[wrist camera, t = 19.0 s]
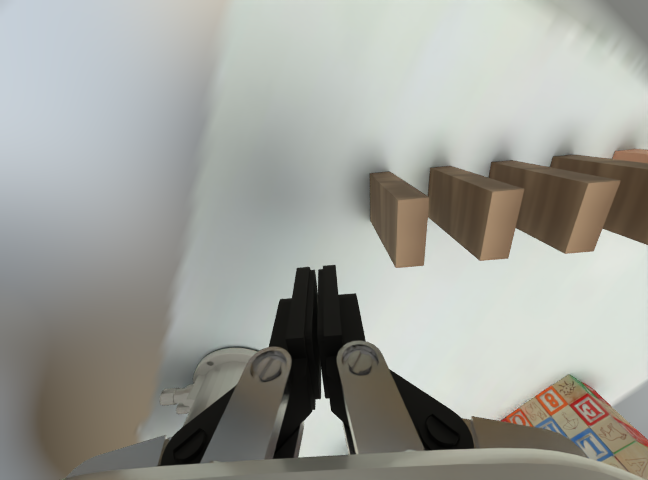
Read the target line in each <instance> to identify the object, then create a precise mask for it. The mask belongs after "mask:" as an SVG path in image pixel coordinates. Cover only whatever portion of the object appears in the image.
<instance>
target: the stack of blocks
mask: <svg viewBox="0 0 648 480" xmlns="http://www.w3.org/2000/svg"><path fill="white" fill-rule="evenodd" d="M501 421H502V422H508V423H514V424H520V425H525V426H531V427H537V428H543V429H548V430H551V431H554V432H557V433H560V434H561V435H563V436H565V437H566V438H568V439H570V440H572V441H573V442H574V443H575V444H576V445H577V446H578V447H579V448H581V449H582V450H583V451H584V453H585V454H586V455H587V457H588V458H589V459H593V460H596V461H600V462H603V463H605V464H608V465H611V466H614V467H616V468H619V469H622V470H625V471H627V472H629V473H632V474H634V475H637V476H639V477H641V478H643V479H645V480H648V440H647V439H646V438H645V437H644V436H643V435H642V434H641V433H640V432H639V431H637V430H636V429H635V428H634V427H633V426H632V425H631V424H630V423H628V422H627V421H626V420H625V419H624V418H623V417H622V416H621V415H620V414H619V413H618V412H617V411H616V410H614V409H613V408H612V407H611V406H610V405H609V404H608V403H607V402H606V401H605V400H604V399H603V398H602V397H601V396H600V395H599V394H598V393H597V392H596V391H595V390H594V389H592V388H591V387H589V386H588V385H586V384H584V383H583V382H581V381H579V380H577V379H576V378H574V377H573V376H571V375H567V376H565V377H564V378H563V379H561V380H560V381H558V382H557V383H555V384H554V385H552V386H550V387H549V388H547V389H546V390H544V391H543V392H541V393H540V394H538V395H537V396H535V397H534V398H532V399H531V400H529V401H528V402H526V403H525V404H523V405H522V406H521V407H520V408H519V409H517V410H516V411H514V412H513V413H511V414H510V415H508V416H507V417H506V418H504V419H503V420H501Z"/></svg>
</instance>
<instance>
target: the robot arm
mask: <svg viewBox="0 0 648 480" xmlns="http://www.w3.org/2000/svg"><path fill="white" fill-rule="evenodd" d="M321 370H322V377H323V385H324V392H325V398H330V406H331V411H332V412H333V413H334V414H335V415H336V416H337V417H338V418H339V419H340V420H342V422H343V429H344V434H345V439H346V443H347V448H348V453H349V455H337V456H320V457H302V458H298V456H299V450H300V445H301V440H302V435H303V430H304V420H305V419H306V418H307V417H308V416H309V415H310V414H311V412H312V410H315V399H321ZM178 403H179V404H178ZM160 404H161V405H162V406H163V405H175V404H178V405H177V408H176V413H177V414H187V413H189V414H188V416H187V418H186V421H185V423H184V425H183V427H182V428H181V429H180V430H179V431H178V432H177V433H176V434H175V435H174V436H173V437H171V438H167V436H166V435H164V436H161V437H157V438H154V439H151V440H147V441H144V442H141V443H138V444H134V445H131V446H128V447H125V448H121V449H118V450H115V451H111V452H108V453H104V454H101V455H98V456H95V457H93V458H91V459H89V460H87V461H85V462H83V463H82V464H80V465H79V466H78V467H76V468H75V469H74V470H73V471H72V472H71V473H70V474H69V475H68V476H67V477H66V478H65V479H61V480H645V479H643V478H641V477H639V476H637V475H634V474H632V473H629V472H627V471H625V470H622V469H619V468H616V467H614V466H611V465H608V464H605V463H603V462H600V461H596V460H593V459H589V458H588V457H587V455H586V454H585V453H584V451H583V450H582V449H581V448H579V447H578V446H577V445H576V444H575V443H574V442H573V441H572V440H570V439H568V438H566V437H565V436H563V435H561V434H560V433H557V432H554V431H551V430H548V429H543V428H537V427H531V426H525V425H520V424H514V423H508V422H502V421H497V420H491V419H485V418H479V417H474V416H472V417H471V420H469V419H463V418H461V417H460V416H458V415H457V414H456V413H455V412H453V411H452V410H451V409H449V408H448V407H446V406H445V405H443V404H442V403H440V402H438V401H437V400H435V399H434V398H432V397H431V396H429V395H428V394H426V393H425V392H423V391H422V390H420V389H419V388H417V387H416V386H414V385H413V384H411V383H410V382H408V381H407V380H405V379H403V378H402V377H400V376H399V375H397V374H396V373H394V372H393V371H391V370H390V369H389V368H388V366H387V364H386V361H385V359H384V357H383V355H382V353H381V352H380V350H379V349H378V348H377V347H376V346H375V345H373V344H371V343H369V342H366V341H365V336H364V331H363V326H362V321H361V316H360V311H359V305H358V300H357V296H356V293H355V294H342V295H338V287H337V276H336V266H335V265H328V266H323V269H319V270H318V292H317V283H316V275H315V270H310V267H303V268H297V271H296V277H295V283H294V289H293V295H292V298H290V299H281V300H280V301H279V305H278V309H277V314H276V318H275V322H274V327H273V331H272V335H271V340H270V344H269V347H268V348H265V349H262V350H260V351H258V352H257V351H254V350H250V349H245V348H227V349H221V350H218V351H215V352H212V353H211V354H209V355H207V356H206V357H205V358H203V359H202V360H201V362H200V363H199V364H198V366H197V368H196V370H195V372H194V376H193V384H189V385H188V386H187V387H186V388H169V389H164V390H163V391H162V393H161V396H160Z"/></svg>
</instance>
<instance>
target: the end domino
mask: <svg viewBox="0 0 648 480" xmlns="http://www.w3.org/2000/svg"><path fill="white" fill-rule="evenodd" d="M612 159H615V160H624V161H633V162H641V163H648V150H642V149H631V150H622V151H615V153H614V156H613V158H612Z"/></svg>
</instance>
